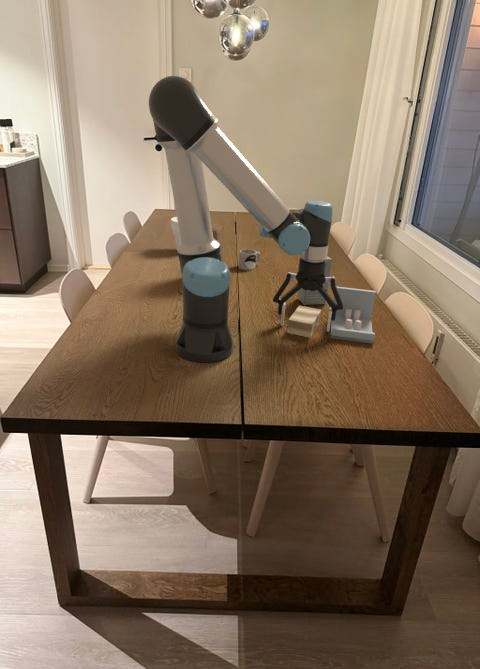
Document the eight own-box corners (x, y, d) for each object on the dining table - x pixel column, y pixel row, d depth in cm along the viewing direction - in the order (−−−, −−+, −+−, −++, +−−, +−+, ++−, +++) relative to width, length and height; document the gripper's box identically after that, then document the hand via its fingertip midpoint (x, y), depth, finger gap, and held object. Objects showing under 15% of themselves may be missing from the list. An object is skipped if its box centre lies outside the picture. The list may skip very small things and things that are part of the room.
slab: (310, 338, 140) (312, 324, 138) (286, 333, 142) (288, 319, 140) (319, 323, 150) (321, 309, 148) (297, 318, 152) (299, 305, 150)
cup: (203, 254, 206) (204, 222, 200) (175, 256, 201) (175, 223, 195) (194, 246, 216) (195, 215, 210) (167, 248, 212) (167, 216, 206)
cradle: (373, 343, 138) (379, 311, 134) (330, 338, 140) (335, 306, 136) (370, 320, 153) (375, 291, 149) (331, 316, 155) (336, 286, 150)
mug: (245, 271, 189) (246, 254, 187) (235, 266, 194) (235, 250, 191) (264, 267, 195) (266, 251, 192) (254, 262, 200) (255, 247, 197)
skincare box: (303, 305, 161) (309, 259, 154) (295, 297, 167) (300, 253, 160) (327, 304, 163) (333, 258, 156) (318, 296, 169) (324, 252, 162)
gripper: (358, 259, 138) (347, 326, 147) (270, 250, 142) (265, 316, 151) (358, 267, 131) (347, 337, 141) (267, 257, 135) (261, 326, 144)
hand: (304, 327), depth 146 cm, fingers open, 13 cm apart
